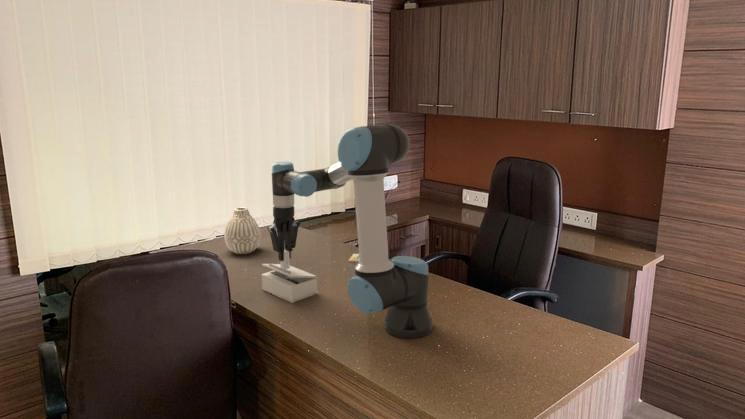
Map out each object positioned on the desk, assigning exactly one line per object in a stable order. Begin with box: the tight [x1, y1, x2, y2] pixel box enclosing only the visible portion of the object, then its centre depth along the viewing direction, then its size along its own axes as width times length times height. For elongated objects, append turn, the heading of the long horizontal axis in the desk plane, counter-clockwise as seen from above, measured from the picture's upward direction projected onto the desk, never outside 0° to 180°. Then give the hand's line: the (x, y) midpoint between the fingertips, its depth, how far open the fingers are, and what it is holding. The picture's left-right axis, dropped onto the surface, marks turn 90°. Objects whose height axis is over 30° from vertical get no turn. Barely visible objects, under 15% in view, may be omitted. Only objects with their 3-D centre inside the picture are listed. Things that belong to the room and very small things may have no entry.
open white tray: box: [261, 270, 319, 304], centre depth 207 cm, size 18×12×6 cm, turn 46°
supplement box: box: [347, 253, 359, 294], centre depth 207 cm, size 8×5×13 cm, turn 168°
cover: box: [261, 263, 318, 279], centre depth 206 cm, size 18×12×1 cm, turn 46°
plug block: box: [285, 278, 299, 284], centre depth 205 cm, size 6×4×4 cm
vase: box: [223, 206, 262, 255], centre depth 250 cm, size 16×16×20 cm
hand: (285, 268), depth 205 cm, fingers closed
